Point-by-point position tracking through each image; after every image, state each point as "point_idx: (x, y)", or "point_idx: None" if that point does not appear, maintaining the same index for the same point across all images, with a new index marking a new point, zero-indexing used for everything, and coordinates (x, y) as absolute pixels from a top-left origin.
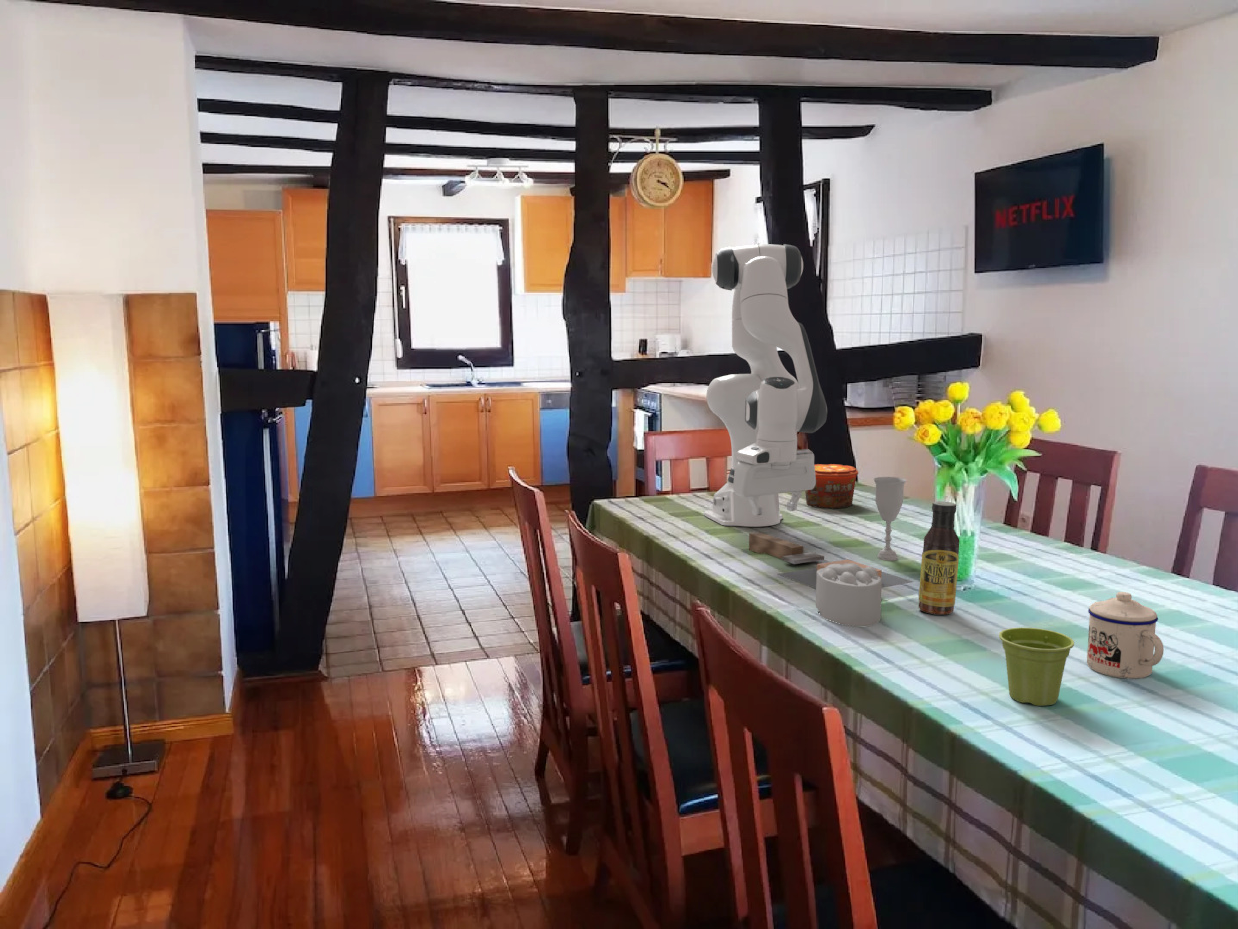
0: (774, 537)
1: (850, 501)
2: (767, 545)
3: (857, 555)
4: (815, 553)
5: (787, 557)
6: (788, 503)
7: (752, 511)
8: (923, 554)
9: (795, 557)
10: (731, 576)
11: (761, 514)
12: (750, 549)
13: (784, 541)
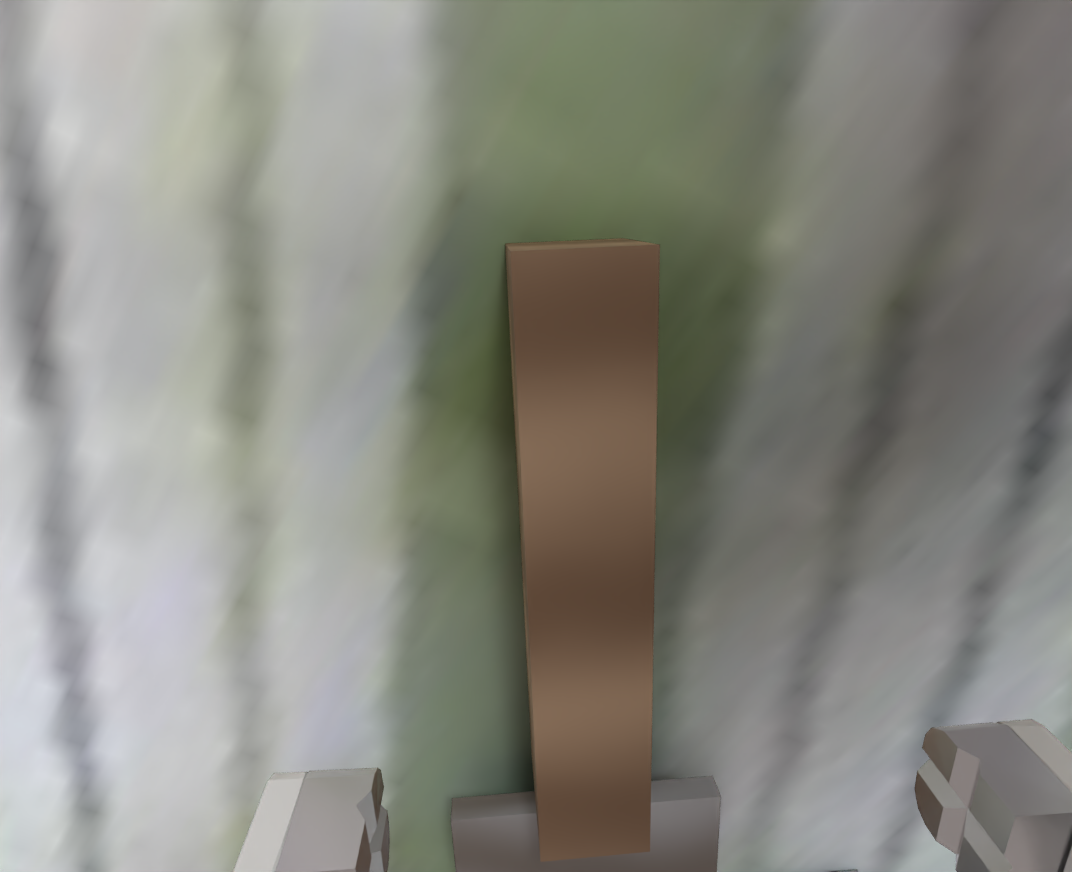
0: (642, 518)
1: None
2: (523, 544)
3: (1061, 722)
4: (713, 832)
5: (465, 853)
6: (993, 844)
7: (263, 805)
8: None
9: (518, 867)
10: (17, 830)
11: (387, 844)
12: (506, 267)
13: (623, 678)
